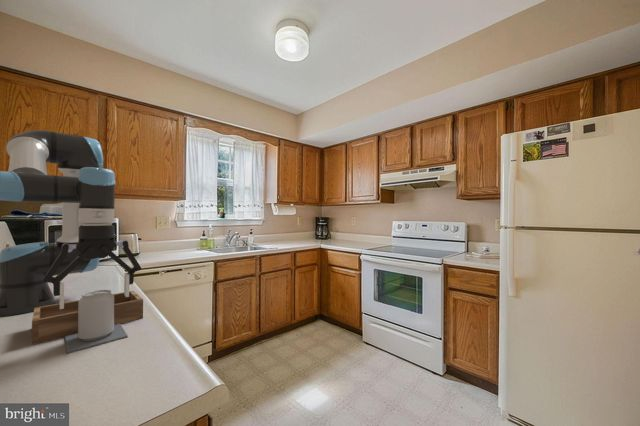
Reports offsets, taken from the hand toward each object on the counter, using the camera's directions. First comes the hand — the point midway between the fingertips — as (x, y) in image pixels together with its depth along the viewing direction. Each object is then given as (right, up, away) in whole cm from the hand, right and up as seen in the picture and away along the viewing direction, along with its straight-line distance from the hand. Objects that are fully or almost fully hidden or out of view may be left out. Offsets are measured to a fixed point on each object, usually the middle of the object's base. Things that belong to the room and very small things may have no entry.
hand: (96, 301), depth 72 cm
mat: (0, -10, 0) cm, 10 cm away
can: (0, -10, 0) cm, 10 cm away
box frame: (-10, -10, +9) cm, 17 cm away
